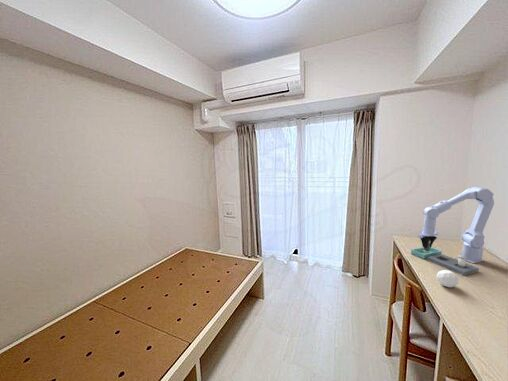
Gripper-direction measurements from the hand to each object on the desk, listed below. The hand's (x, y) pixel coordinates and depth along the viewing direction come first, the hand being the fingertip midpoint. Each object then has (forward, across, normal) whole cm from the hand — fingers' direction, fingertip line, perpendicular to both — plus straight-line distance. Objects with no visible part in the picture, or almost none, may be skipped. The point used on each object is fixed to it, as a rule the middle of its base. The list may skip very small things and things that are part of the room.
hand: (426, 247), depth 134 cm
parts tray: (+5, 0, 0) cm, 5 cm away
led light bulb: (+3, 0, 0) cm, 3 cm away
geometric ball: (+5, +24, +26) cm, 36 cm away
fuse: (+5, 0, +18) cm, 19 cm away
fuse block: (+5, 0, +14) cm, 15 cm away
